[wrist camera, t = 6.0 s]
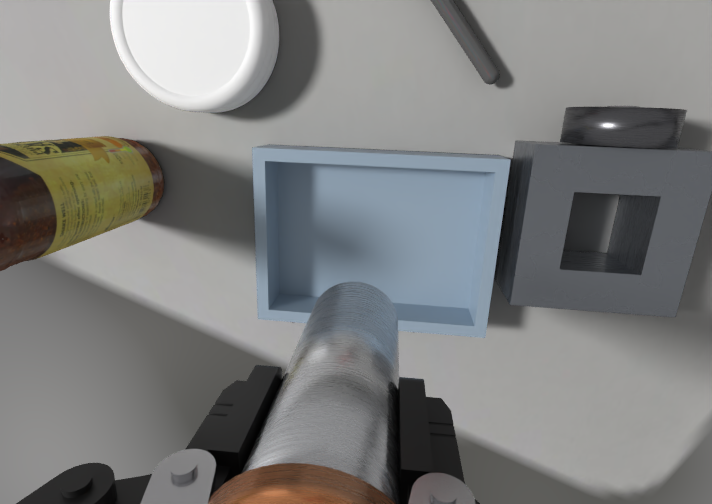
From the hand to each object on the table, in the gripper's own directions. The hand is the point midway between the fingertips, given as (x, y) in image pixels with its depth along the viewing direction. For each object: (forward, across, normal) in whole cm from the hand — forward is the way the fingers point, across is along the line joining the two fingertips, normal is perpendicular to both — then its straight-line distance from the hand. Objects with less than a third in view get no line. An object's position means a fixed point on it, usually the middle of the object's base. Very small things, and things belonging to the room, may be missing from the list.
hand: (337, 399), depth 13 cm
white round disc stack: (+20, +12, -13) cm, 27 cm away
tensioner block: (+19, -14, -3) cm, 24 cm away
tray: (+20, 0, 0) cm, 20 cm away
